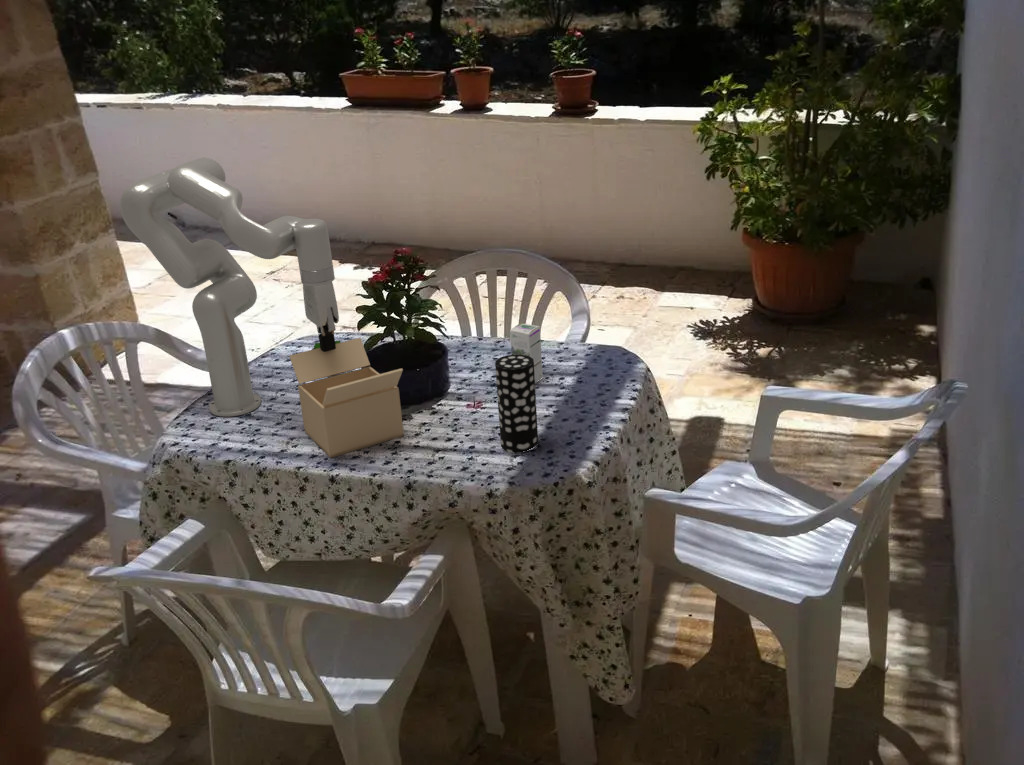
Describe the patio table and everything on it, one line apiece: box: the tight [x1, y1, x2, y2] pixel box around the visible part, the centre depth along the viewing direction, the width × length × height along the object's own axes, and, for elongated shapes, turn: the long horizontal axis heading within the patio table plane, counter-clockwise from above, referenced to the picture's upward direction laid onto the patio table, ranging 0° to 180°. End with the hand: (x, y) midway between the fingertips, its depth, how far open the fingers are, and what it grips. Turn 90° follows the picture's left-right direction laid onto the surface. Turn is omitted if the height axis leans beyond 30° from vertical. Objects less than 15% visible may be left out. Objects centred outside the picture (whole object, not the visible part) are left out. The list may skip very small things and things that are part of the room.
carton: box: [297, 366, 405, 459], centre depth 240 cm, size 16×18×12 cm
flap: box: [288, 337, 371, 385], centre depth 244 cm, size 7×18×1 cm
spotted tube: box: [494, 354, 539, 454], centre depth 229 cm, size 8×8×20 cm
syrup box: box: [509, 322, 544, 382], centre depth 262 cm, size 6×6×14 cm
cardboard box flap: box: [322, 367, 404, 406], centre depth 229 cm, size 7×18×1 cm
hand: (328, 349), depth 244 cm, fingers closed
